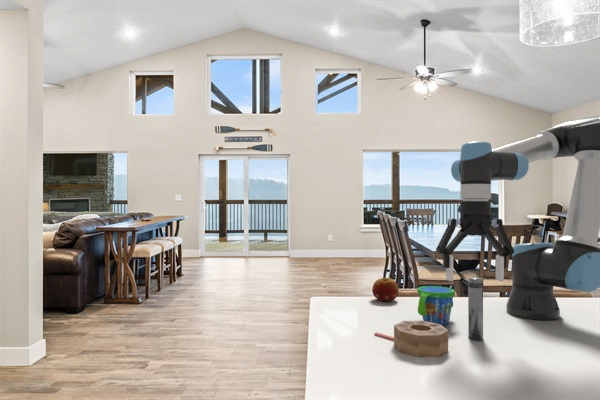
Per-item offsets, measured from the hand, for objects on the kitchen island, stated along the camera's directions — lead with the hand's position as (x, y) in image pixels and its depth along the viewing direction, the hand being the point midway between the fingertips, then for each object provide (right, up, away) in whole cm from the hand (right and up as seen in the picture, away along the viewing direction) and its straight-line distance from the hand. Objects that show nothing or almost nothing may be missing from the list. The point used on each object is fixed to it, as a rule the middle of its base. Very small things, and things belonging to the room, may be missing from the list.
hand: (474, 280), depth 110 cm
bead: (-16, -15, -7) cm, 24 cm away
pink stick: (-22, -16, -1) cm, 27 cm away
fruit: (-15, -16, +43) cm, 49 cm away
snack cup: (-5, -16, +15) cm, 22 cm away
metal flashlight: (0, -16, 0) cm, 16 cm away
